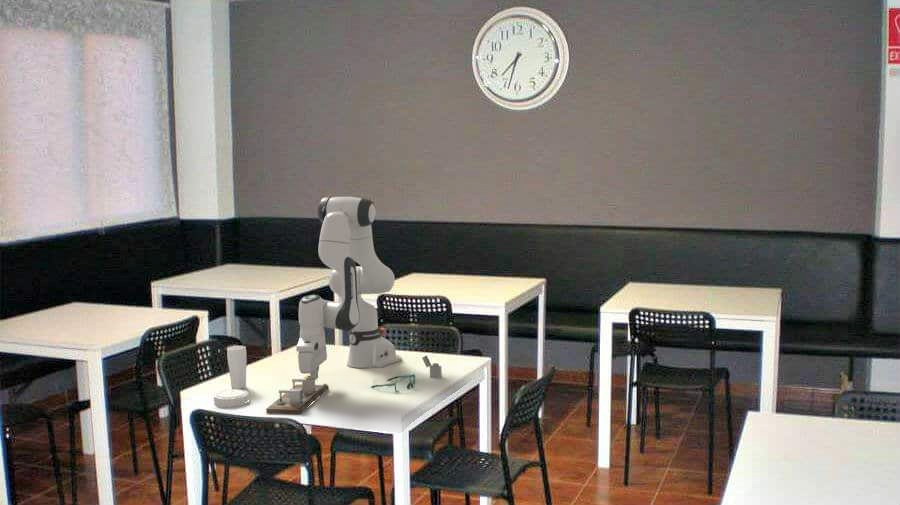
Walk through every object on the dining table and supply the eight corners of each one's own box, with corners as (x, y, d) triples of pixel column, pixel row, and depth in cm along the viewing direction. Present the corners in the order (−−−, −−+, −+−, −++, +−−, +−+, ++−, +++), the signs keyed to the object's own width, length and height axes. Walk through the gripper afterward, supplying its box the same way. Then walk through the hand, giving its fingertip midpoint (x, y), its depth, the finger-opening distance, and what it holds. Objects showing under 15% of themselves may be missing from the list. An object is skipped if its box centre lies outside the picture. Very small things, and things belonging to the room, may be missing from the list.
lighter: (441, 377, 369) (441, 356, 368) (440, 378, 368) (439, 357, 367) (424, 375, 372) (423, 354, 371) (422, 376, 370) (421, 356, 369)
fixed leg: (302, 385, 358) (301, 371, 357) (326, 385, 356) (326, 372, 356) (274, 408, 331) (273, 393, 330) (300, 408, 329) (299, 394, 328)
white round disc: (208, 402, 346) (207, 392, 345) (240, 396, 353) (239, 386, 353) (223, 410, 336) (222, 399, 336) (255, 403, 344) (254, 393, 343)
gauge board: (296, 388, 360) (296, 384, 359) (328, 389, 357) (328, 384, 357) (266, 413, 331) (266, 408, 330) (300, 414, 328) (300, 409, 328)
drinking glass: (251, 385, 365) (249, 346, 363) (242, 390, 359) (239, 350, 357) (235, 384, 367) (233, 345, 365) (225, 389, 361) (223, 349, 359)
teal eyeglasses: (401, 394, 349) (400, 380, 349) (367, 393, 357) (366, 379, 357) (423, 384, 361) (421, 371, 361) (390, 383, 369) (388, 370, 368)
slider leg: (294, 390, 350) (293, 374, 349) (315, 391, 348) (314, 375, 348) (291, 393, 347) (290, 377, 346) (312, 393, 345) (311, 377, 345)
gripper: (313, 334, 362) (315, 371, 364) (294, 348, 342) (296, 386, 344) (330, 334, 361) (332, 371, 363) (311, 348, 341) (313, 387, 343)
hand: (314, 379), depth 353 cm, fingers closed
